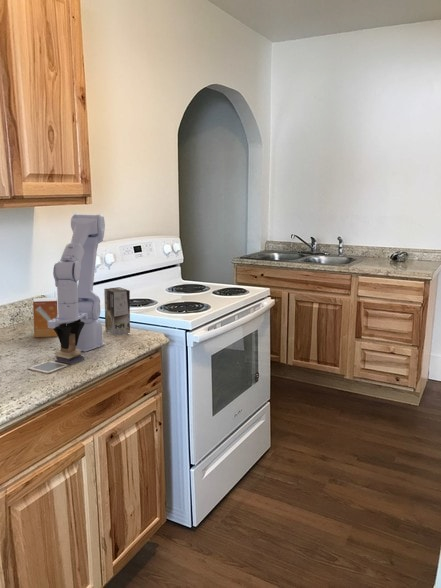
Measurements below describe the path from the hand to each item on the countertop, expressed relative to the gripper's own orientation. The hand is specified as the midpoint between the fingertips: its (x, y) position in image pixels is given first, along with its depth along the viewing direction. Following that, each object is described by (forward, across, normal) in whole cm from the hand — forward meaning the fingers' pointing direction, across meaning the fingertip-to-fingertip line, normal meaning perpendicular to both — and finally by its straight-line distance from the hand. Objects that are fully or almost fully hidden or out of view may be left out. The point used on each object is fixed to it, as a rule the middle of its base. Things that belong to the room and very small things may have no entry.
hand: (69, 346), depth 148 cm
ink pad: (+4, 0, 0) cm, 4 cm away
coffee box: (+5, -34, -9) cm, 35 cm away
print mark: (+4, +8, -1) cm, 9 cm away
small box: (+5, -18, -28) cm, 34 cm away
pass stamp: (+3, 0, 0) cm, 3 cm away
